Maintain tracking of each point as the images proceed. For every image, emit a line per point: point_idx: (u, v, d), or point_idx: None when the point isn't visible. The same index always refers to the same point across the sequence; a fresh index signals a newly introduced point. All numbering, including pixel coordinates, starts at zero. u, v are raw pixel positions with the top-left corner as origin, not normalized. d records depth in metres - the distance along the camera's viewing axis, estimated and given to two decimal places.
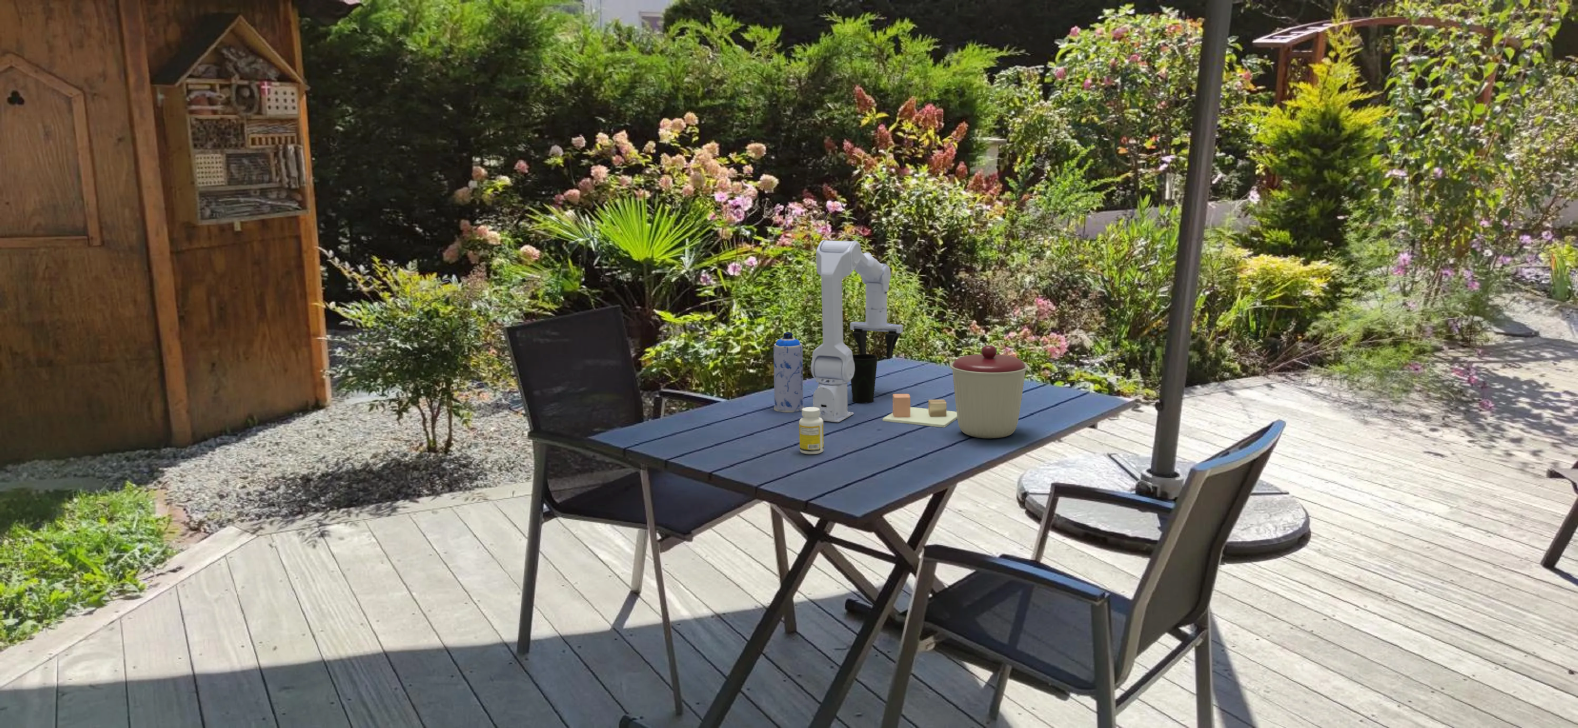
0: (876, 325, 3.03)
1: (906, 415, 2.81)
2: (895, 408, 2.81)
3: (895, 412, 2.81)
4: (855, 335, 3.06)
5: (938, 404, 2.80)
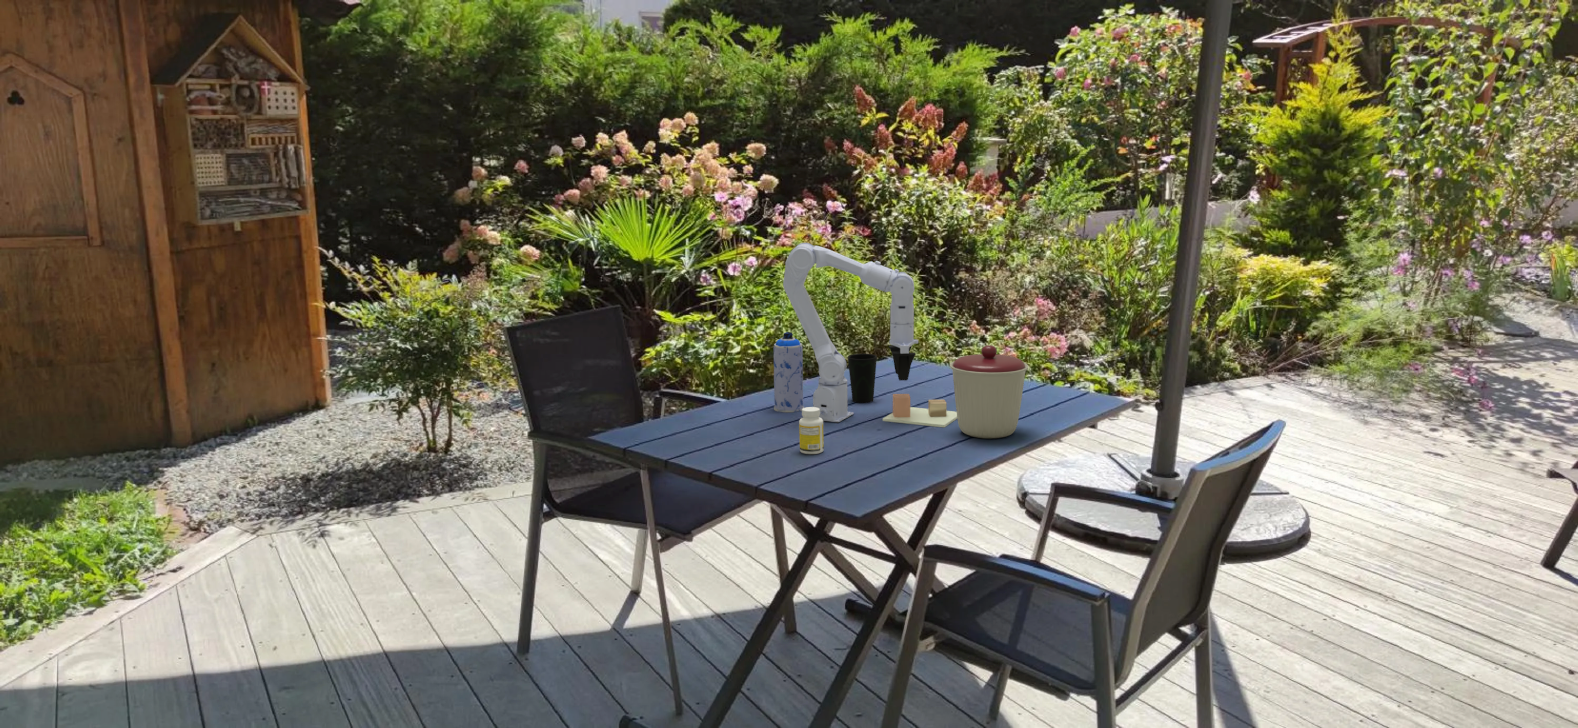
0: (891, 341, 2.78)
1: (906, 415, 2.81)
2: (895, 408, 2.81)
3: (895, 412, 2.81)
4: None
5: (938, 404, 2.80)
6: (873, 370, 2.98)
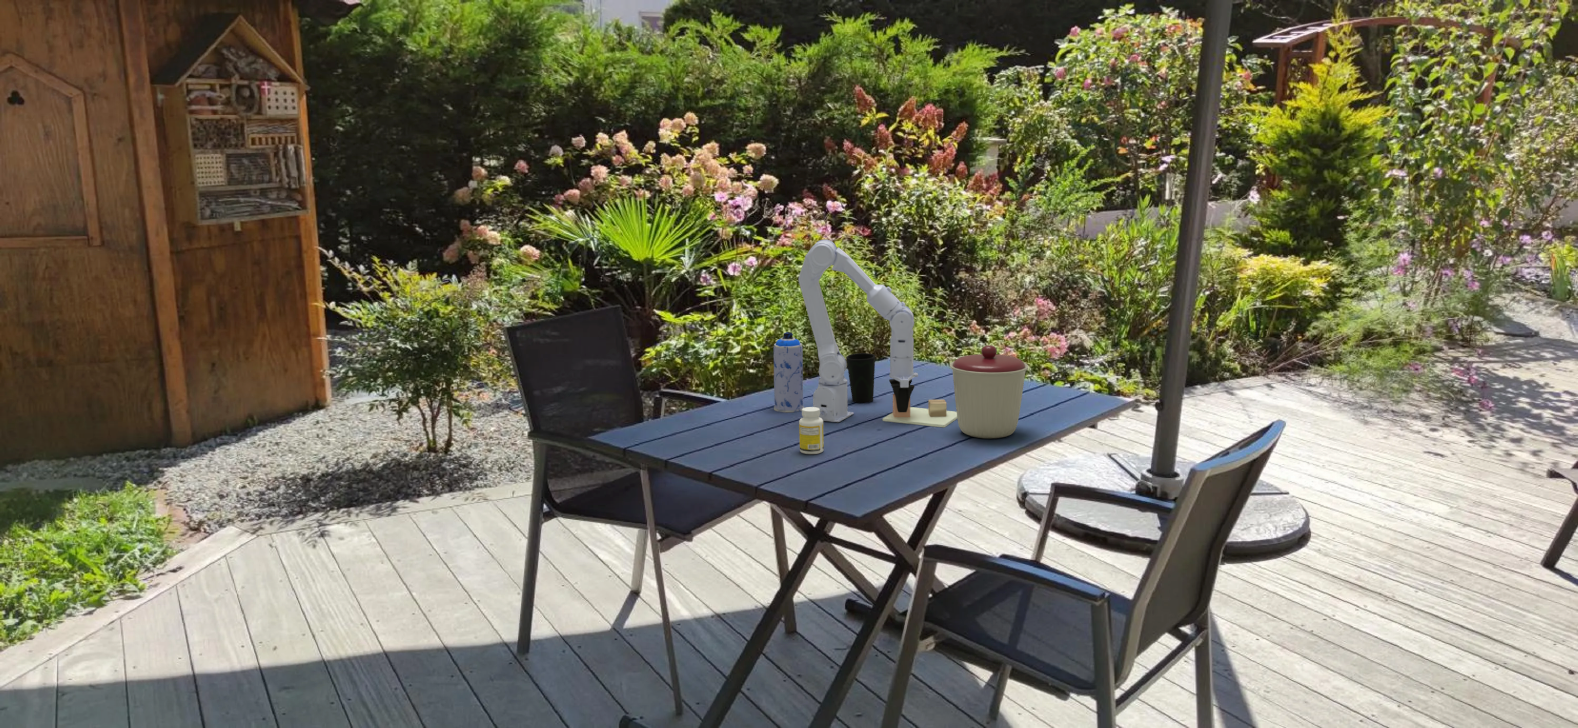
0: (891, 374, 2.80)
1: (906, 415, 2.81)
2: (895, 408, 2.81)
3: (895, 412, 2.81)
4: None
5: (938, 404, 2.80)
6: (872, 370, 2.97)
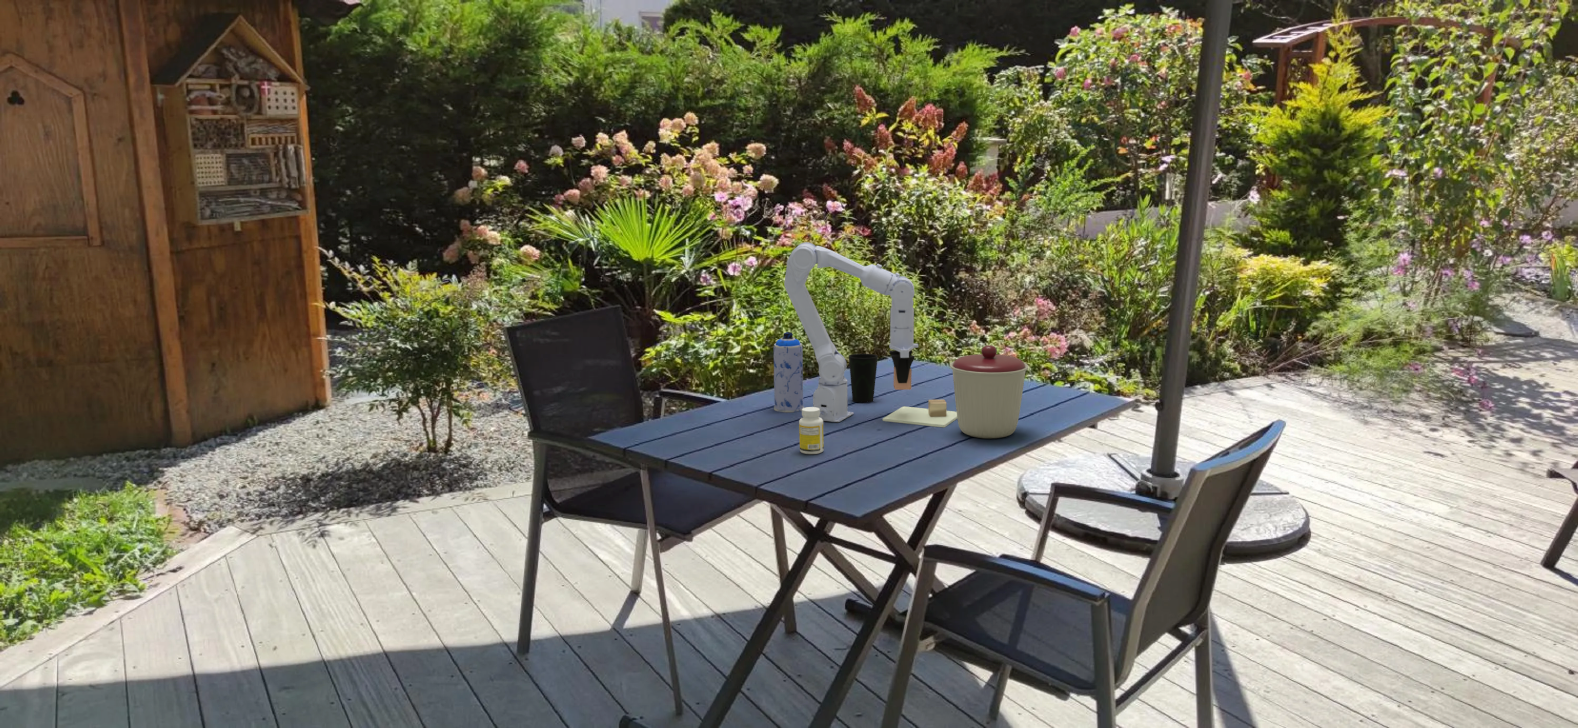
0: (891, 345, 2.78)
1: (907, 387, 2.80)
2: (896, 380, 2.79)
3: (896, 384, 2.79)
4: None
5: (938, 404, 2.80)
6: (873, 369, 2.98)
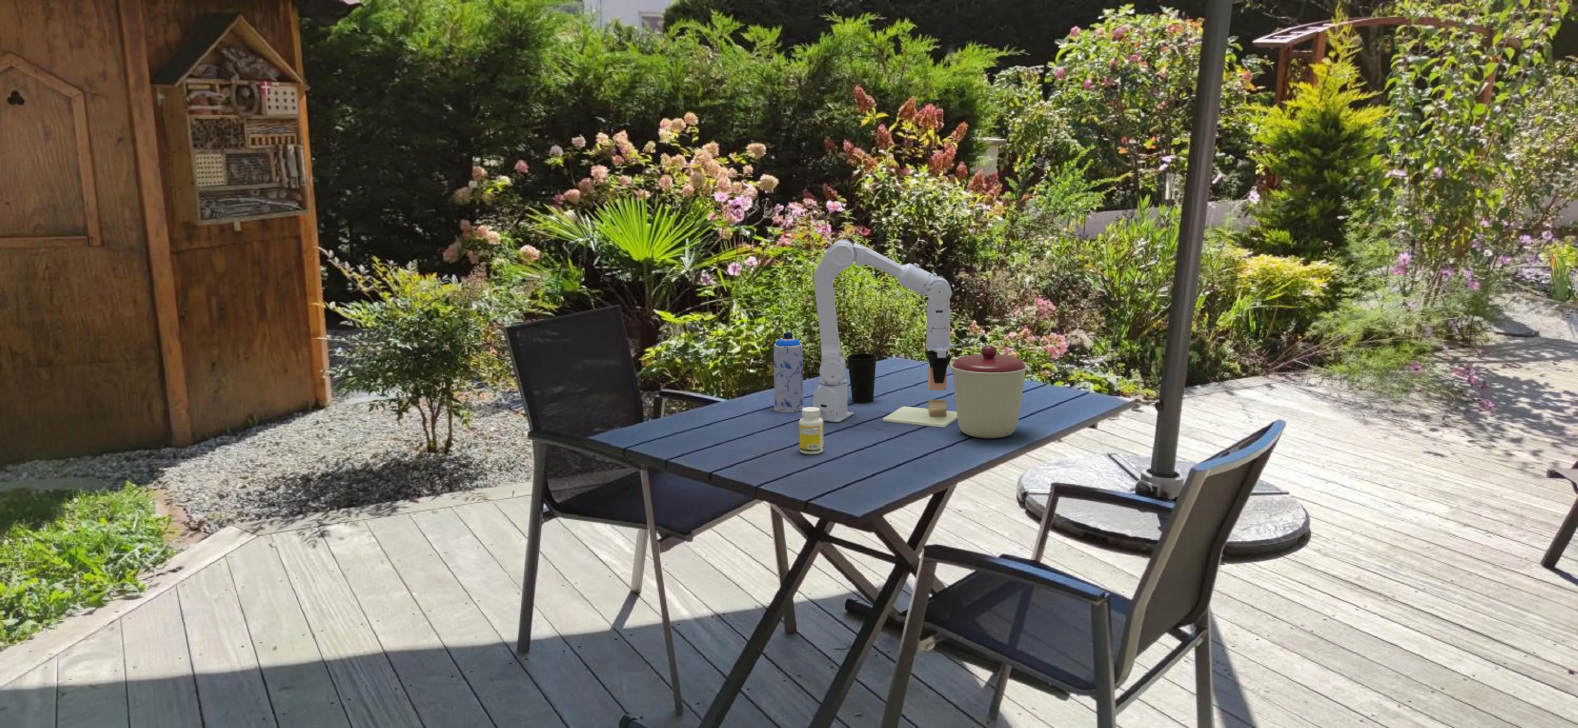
0: (927, 345, 2.78)
1: (942, 388, 2.80)
2: (931, 381, 2.79)
3: (931, 385, 2.79)
4: None
5: (938, 404, 2.80)
6: (872, 370, 2.97)
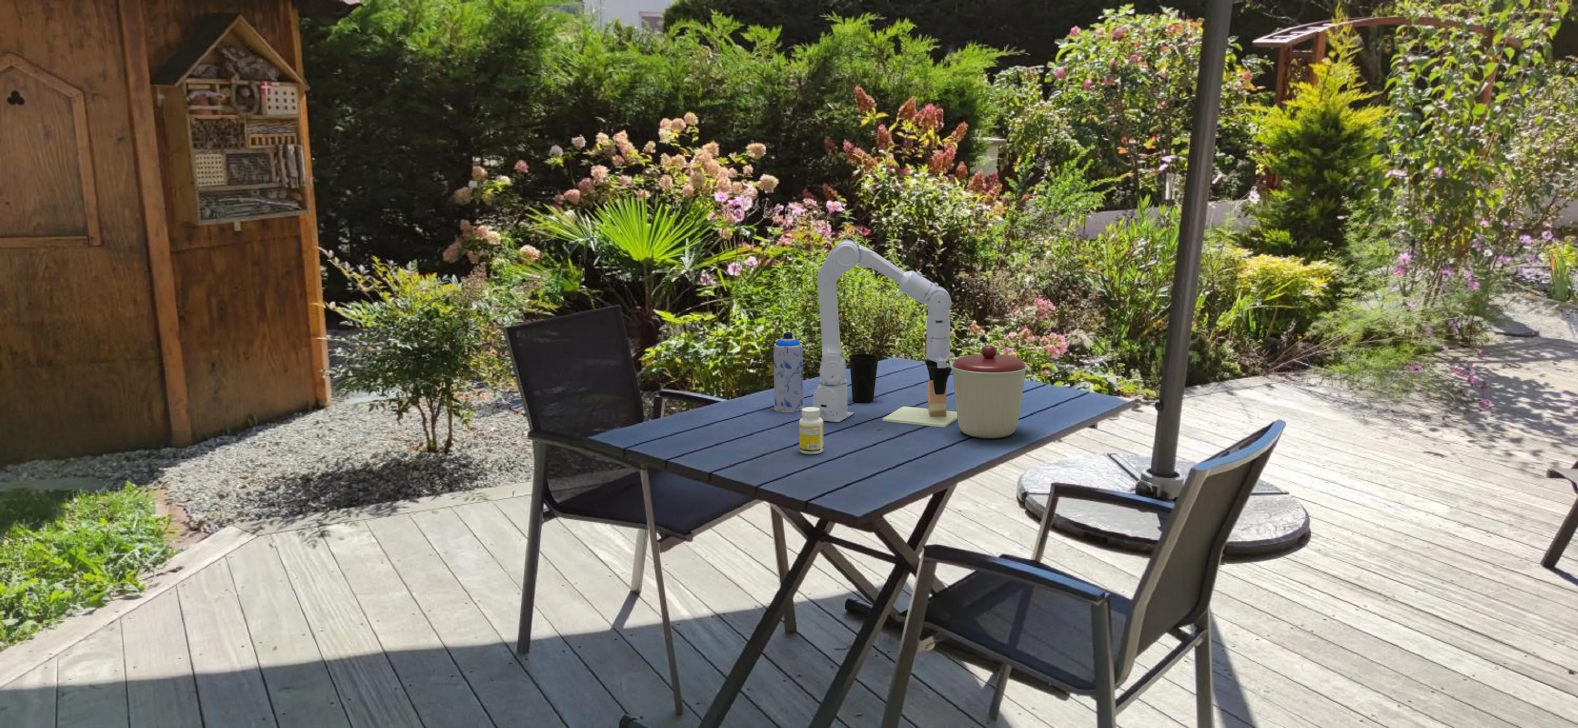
0: (927, 355, 2.79)
1: (942, 401, 2.80)
2: (931, 394, 2.80)
3: (931, 398, 2.80)
4: None
5: (938, 404, 2.80)
6: (873, 370, 2.98)
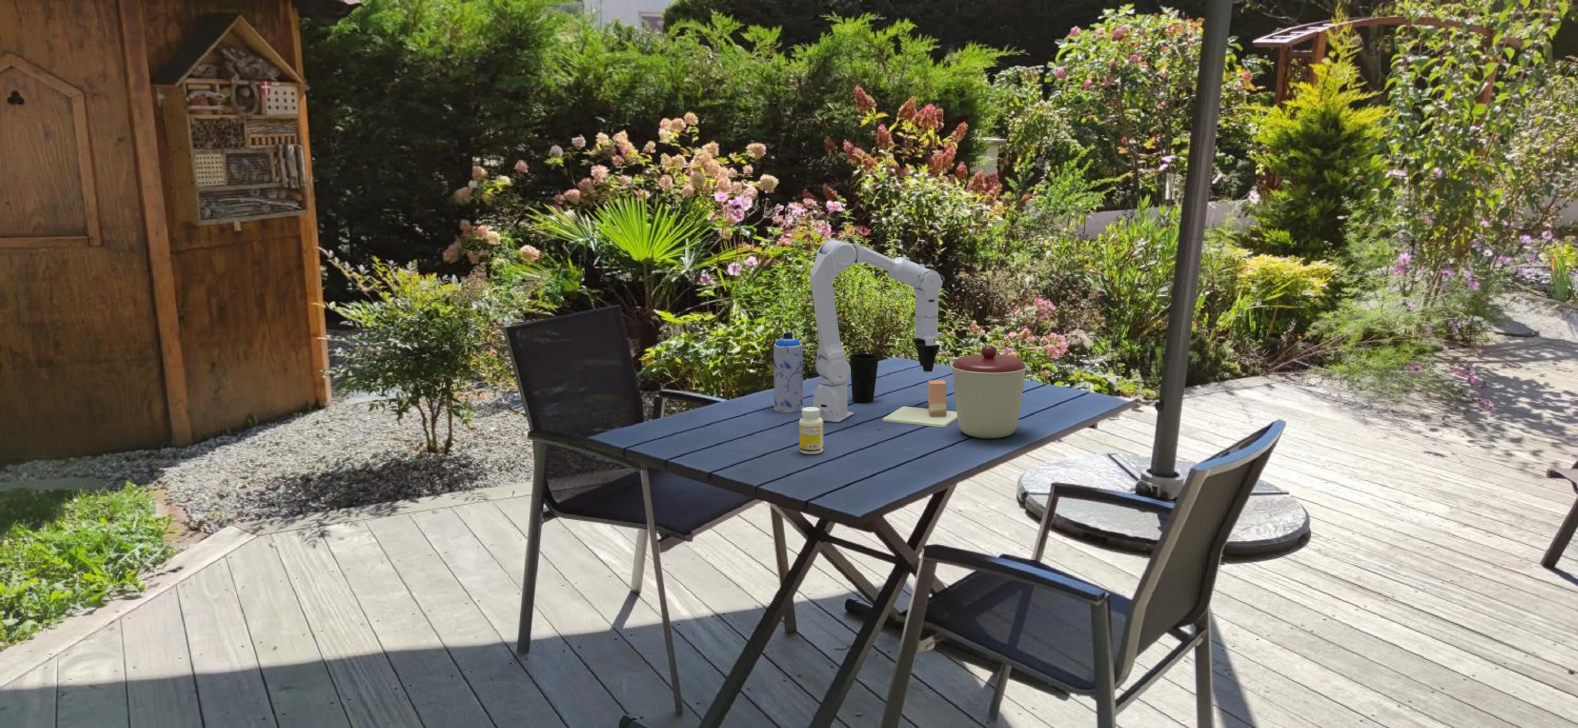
0: (916, 333, 2.88)
1: (942, 401, 2.80)
2: (931, 394, 2.80)
3: (931, 398, 2.80)
4: None
5: (938, 404, 2.80)
6: (873, 370, 2.97)
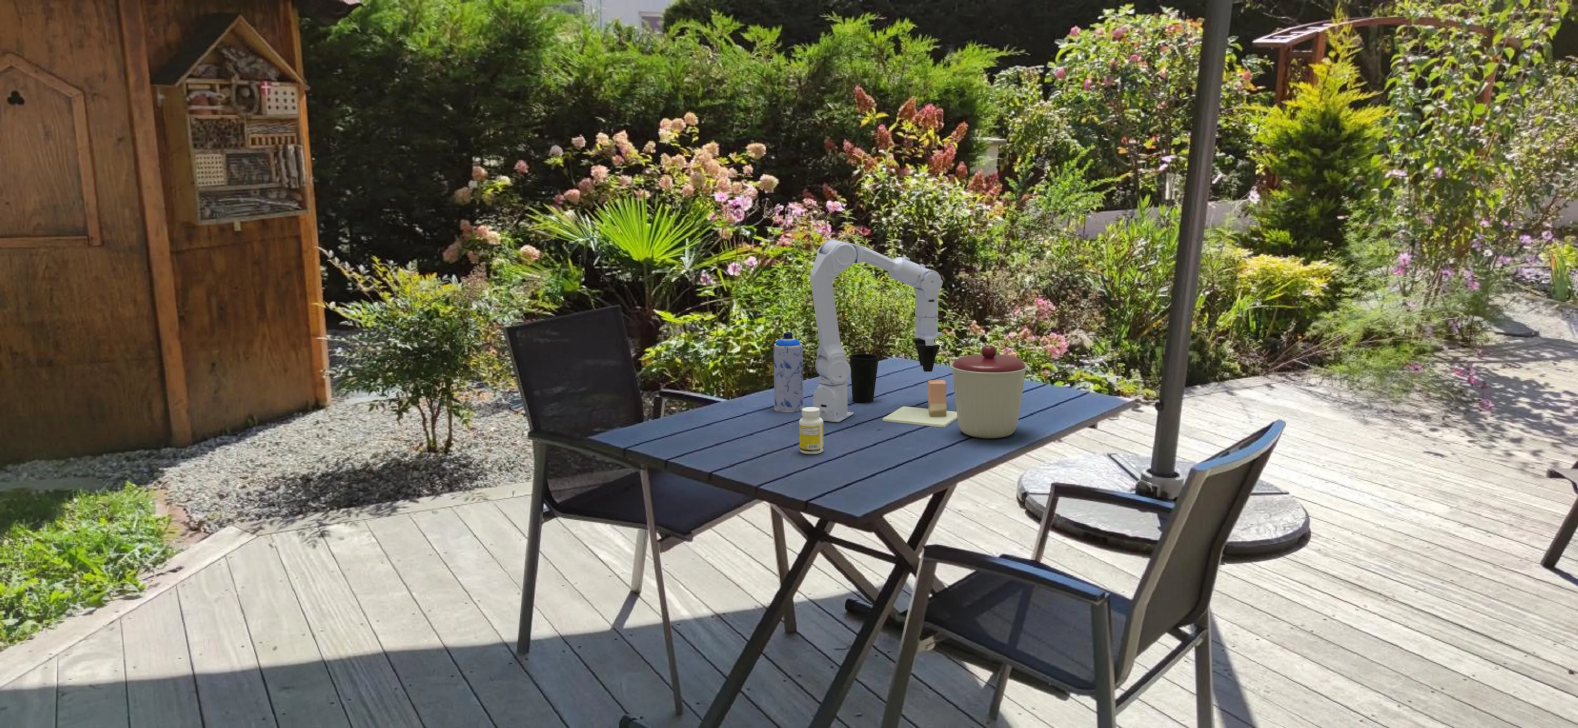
0: (916, 333, 2.88)
1: (942, 401, 2.80)
2: (931, 394, 2.80)
3: (931, 398, 2.80)
4: None
5: (938, 404, 2.80)
6: (873, 370, 2.97)
